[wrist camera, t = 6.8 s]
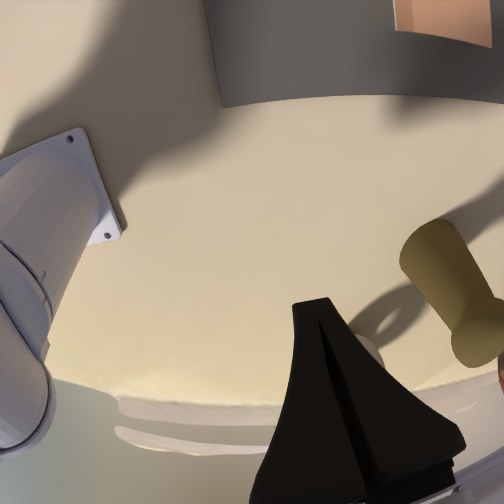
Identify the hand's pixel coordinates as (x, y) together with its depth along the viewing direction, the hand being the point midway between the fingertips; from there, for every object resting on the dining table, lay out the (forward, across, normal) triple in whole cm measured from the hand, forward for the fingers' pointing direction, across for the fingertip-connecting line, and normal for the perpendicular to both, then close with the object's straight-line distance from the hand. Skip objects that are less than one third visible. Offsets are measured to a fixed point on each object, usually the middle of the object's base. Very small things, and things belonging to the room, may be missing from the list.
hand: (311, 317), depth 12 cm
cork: (+10, -13, +7) cm, 18 cm away
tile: (+8, -8, -13) cm, 17 cm away
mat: (+10, -8, -13) cm, 18 cm away
